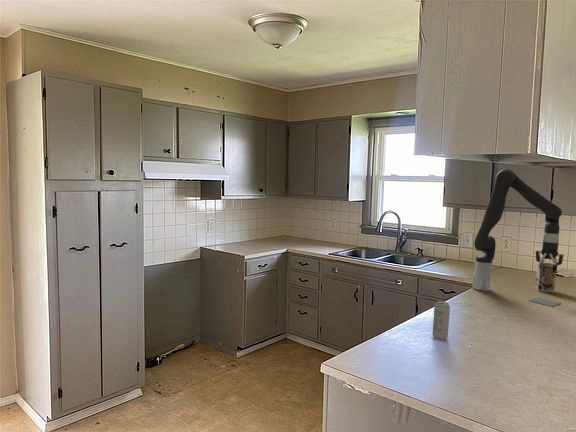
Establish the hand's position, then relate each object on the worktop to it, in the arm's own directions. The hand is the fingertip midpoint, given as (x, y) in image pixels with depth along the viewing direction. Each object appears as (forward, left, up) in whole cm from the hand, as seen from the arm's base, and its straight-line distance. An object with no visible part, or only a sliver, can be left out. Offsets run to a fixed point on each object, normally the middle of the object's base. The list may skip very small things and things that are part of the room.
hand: (547, 270), depth 237 cm
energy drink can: (+3, -105, -18) cm, 106 cm away
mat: (+1, -3, -18) cm, 18 cm away
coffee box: (-11, +25, -18) cm, 33 cm away
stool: (0, 0, -4) cm, 4 cm away
